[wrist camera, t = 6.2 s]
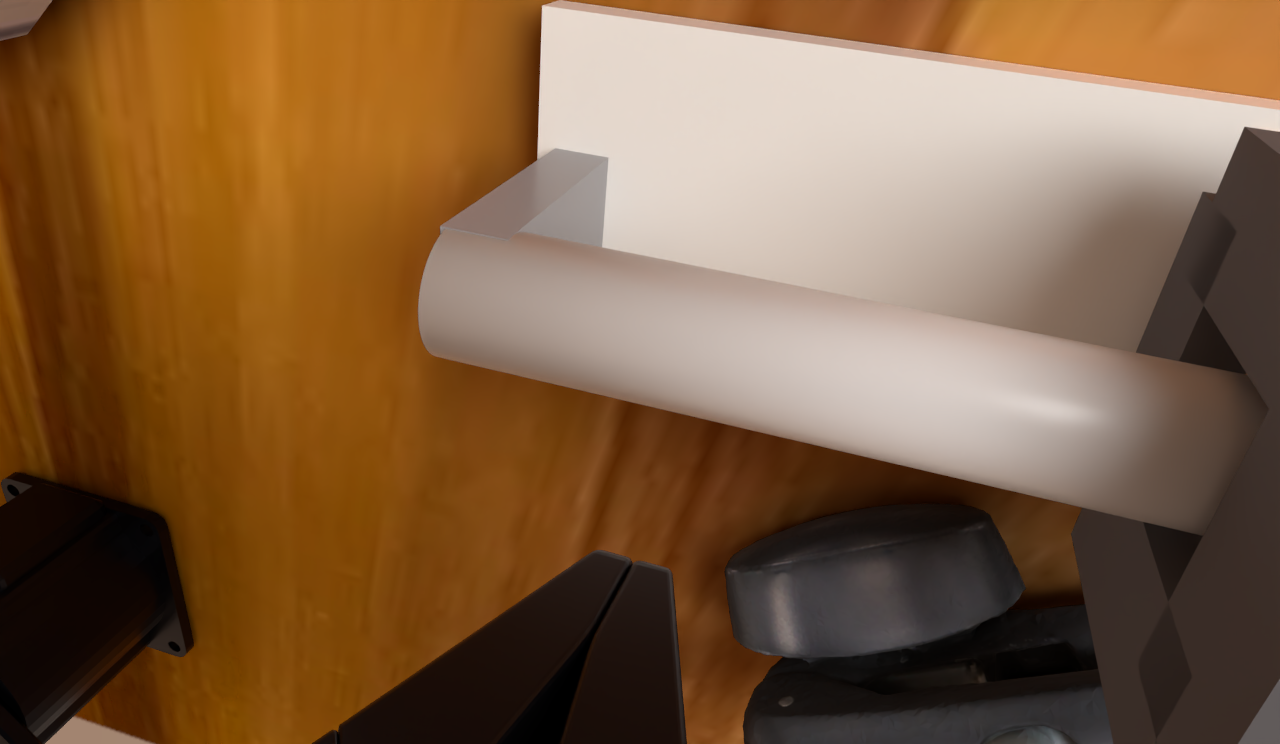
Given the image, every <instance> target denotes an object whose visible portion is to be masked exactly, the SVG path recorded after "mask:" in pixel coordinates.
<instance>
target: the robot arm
mask: <svg viewBox="0 0 1280 744" xmlns="http://www.w3.org/2000/svg"><path fill="white" fill-rule="evenodd" d="M1 485H2V489H3V492H4V495H5V498H6V501H7V503H6V504H4V505H3V506H1V507H0V744H45V743H46V742H47V741H48V740H49V739H50V738H51V737H52V736H53V735H54V734H55V733H57V731H59V730H60V729H61V728H62V727H63V726H64V725H65V724H66V723H67V722H68V721H69V720H70V719H71V718H72V717H73V716H74V715H75V714H76V713H77V712H78V711H80V710H81V709H82V708H83V707H84V706H85V705H86V704H87V703H88V702H89V701H90V700H91V699H92V698H93V697H94V696H95V695H96V694H97V693H98V692H99V691H100V690H101V689H103V688H104V687H105V686H106V685H107V684H108V683H109V682H110V681H111V680H112V679H113V678H114V677H115V676H116V675H117V674H118V673H119V672H120V671H121V670H122V669H123V668H124V667H126V666H127V665H128V664H129V663H130V662H131V661H132V660H133V659H134V658H135V657H136V656H137V655H138V654H139V653H140V652H141V651H142V650H143V649H144V648H145V647H146V646H147V647H150V648H153V649H156V650H159V651H162V652H165V653H168V654H171V655H175V656H178V657H183V656H185V655H186V654H187V653H188V652H189V651H190V650H191V649H192V648H193V646H194V642H193V637H192V633H191V628H190V624H189V619H188V615H187V611H186V606H185V602H184V597H183V593H182V588H181V584H180V580H179V575H178V571H177V566H176V562H175V557H174V553H173V549H172V544H171V540H170V535H169V531H168V527H167V524H166V522H165V521H164V519H163V518H162V517H161V516H159V515H158V514H156V513H154V512H152V511H148V510H145V509H142V508H138V507H135V506H131V505H128V504H125V503H121V502H118V501H114V500H111V499H108V498H104V497H101V496H97V495H94V494H91V493H87V492H84V491H80V490H77V489H74V488H70V487H67V486H63V485H60V484H57V483H53V482H50V481H46V480H43V479H39V478H36V477H33V476H29V475H26V474H22V473H18V472H15V473H13V474H11V475H10V476H8V477H6V478H5V479H3V480H2V482H1ZM312 744H687V740H686V728H685V716H684V704H683V692H682V680H681V669H680V657H679V645H678V633H677V621H676V609H675V597H674V586H673V575H672V572H671V570H670V569H668V568H666V567H662V566H659V565H655V564H651V563H648V562H644V561H636V562H634V563H632V561H631V559H630V558H628V557H626V556H622V555H618V554H614V553H611V552H607V551H603V550H596V551H593V552H591V553H590V554H588V555H587V556H585V557H584V558H582V559H581V560H579V561H578V562H576V563H575V564H573V565H572V566H571V567H569V568H568V569H566V570H565V571H563V572H562V573H560V574H559V575H557V576H556V577H555V578H553V579H552V580H550V581H549V582H547V583H546V584H544V585H543V586H541V587H540V588H539V589H537V590H536V591H534V592H533V593H531V594H530V595H528V596H527V597H525V598H524V599H522V600H521V601H520V602H518V603H517V604H515V605H514V606H512V607H511V608H509V609H508V610H506V611H505V612H504V613H502V614H501V615H499V616H498V617H496V618H495V619H493V620H492V621H490V622H489V623H487V624H486V625H485V626H483V627H482V628H480V629H479V630H477V631H476V632H474V633H473V634H471V635H470V636H469V637H467V638H466V639H464V640H463V641H461V642H460V643H458V644H457V645H455V646H454V647H453V648H451V649H450V650H448V651H447V652H445V653H444V654H442V655H441V656H439V657H438V658H436V659H435V660H434V661H432V662H431V663H429V664H428V665H426V666H425V667H423V668H422V669H420V670H419V671H418V672H416V673H415V674H413V675H412V676H410V677H409V678H407V679H406V680H404V681H403V682H401V683H400V684H399V685H397V686H396V687H394V688H393V689H391V690H390V691H388V692H387V693H385V694H384V695H383V696H381V697H380V698H378V699H377V700H375V701H374V702H372V703H371V704H369V705H368V706H366V707H365V708H364V709H362V710H361V711H359V712H358V713H356V714H355V715H353V716H352V717H350V718H349V719H348V720H346V721H345V722H343V723H342V724H340V726H339V730H338V732H337V731H336V730H331V731H329V732H328V733H327V734H325V735H324V736H322V737H321V738H319V739H318V740H316V741H315V742H313V743H312Z"/></svg>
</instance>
